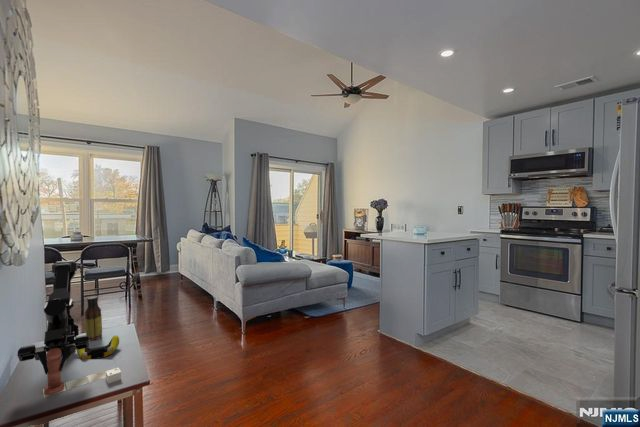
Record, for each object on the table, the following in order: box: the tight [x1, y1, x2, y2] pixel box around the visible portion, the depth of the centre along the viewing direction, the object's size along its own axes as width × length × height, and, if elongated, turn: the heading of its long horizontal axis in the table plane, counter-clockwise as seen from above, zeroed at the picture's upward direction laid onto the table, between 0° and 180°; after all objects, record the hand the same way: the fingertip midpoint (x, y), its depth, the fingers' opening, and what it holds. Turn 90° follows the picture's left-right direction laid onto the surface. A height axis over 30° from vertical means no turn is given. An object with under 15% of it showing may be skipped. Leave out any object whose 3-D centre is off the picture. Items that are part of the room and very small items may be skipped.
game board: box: [42, 370, 106, 398], centre depth 110 cm, size 19×12×1 cm, turn 135°
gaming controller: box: [76, 335, 120, 360], centre depth 130 cm, size 15×6×10 cm
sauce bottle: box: [84, 295, 103, 341], centre depth 144 cm, size 6×6×20 cm
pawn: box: [43, 348, 65, 396], centre depth 103 cm, size 5×5×15 cm
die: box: [105, 367, 122, 385], centre depth 111 cm, size 4×4×4 cm
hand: (53, 372), depth 102 cm, fingers closed on pawn, 3 cm apart
